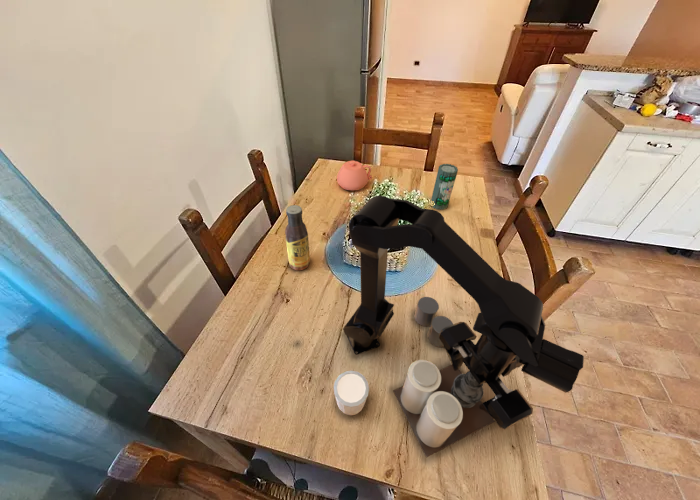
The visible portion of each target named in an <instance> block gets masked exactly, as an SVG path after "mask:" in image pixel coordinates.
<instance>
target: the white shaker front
mask: <svg viewBox="0 0 700 500" xmlns="http://www.w3.org/2000/svg"><path fill="white" fill-rule="evenodd" d="M462 418H463V411H462V407H461V405H460V403H459V401H458V400H457V399H456V398H455V397H454V396H453V395H451V394H450V393H447V392H444V391H438V392H435V393H433V394H432V395H431V396H430V397H429V398H428V400H427V402H426V404H425V406H424V409H423V411H422V413H421V415H420V417H419V419H418V421H417V424H416V430H417V434H418V436H419V438H420V439H421V441H422V442H423V443H424V444H426V445H428V446H430V447H440V446H442V445H443V444H444V443H445V442H446V440H447V439H448V438H449V437H450V435H451V434H452V433H453V432H454V430H455V429H456V428H457V427H458V425H459V424H460V423H461V421H462Z"/></svg>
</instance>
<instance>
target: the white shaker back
mask: <svg viewBox="0 0 700 500" xmlns="http://www.w3.org/2000/svg"><path fill="white" fill-rule="evenodd" d="M407 369H408V370H407V372H406V376H405V378H404V382H403V385H402V386H403V388H402V391H401V402H402V404H403V406H404V407H405V409H406V410H408V411H409V412H411V413H414V414H421V413H422V411H423V409H424V406H425V404H426V402H427V400H428V398H429V397H430V396H431V395H432V394H433V393H435V392H436V391H437V389H438V388H439V386H440V383H441V374H440V371H439V370H440V369H439V368H438V366H436V364H434V363H433V362H432V361H430V360H427V359H416V360H415V361H413V362H412V363H411V364H410V365H409V367H408V368H407Z"/></svg>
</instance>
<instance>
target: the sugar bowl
mask: <svg viewBox="0 0 700 500" xmlns="http://www.w3.org/2000/svg"><path fill="white" fill-rule="evenodd" d="M366 168H367V169H368V171H367V170H366ZM371 172H372V167H371V166H370V165H368V164H364V165H363V164H362V163H361V162H359V161H357V160H349V161H346V162H344V163H343V164H342V165H341V167H340V168H339V170H338V172H337V174H336V182H337V184H338V185H339V186H340V187H341V188H342V189H344V190H345V191H358V190H361V189H363V188H364V187H365V186H366V185H367V184H368V182H369V181H371V180H372V179H373V176H372V174H371Z"/></svg>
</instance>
